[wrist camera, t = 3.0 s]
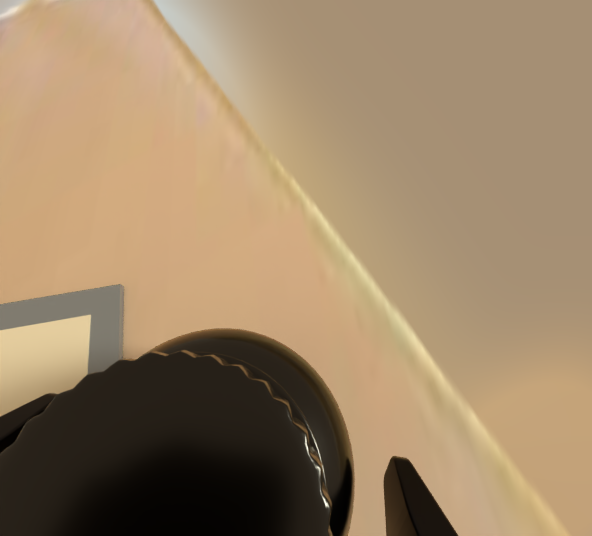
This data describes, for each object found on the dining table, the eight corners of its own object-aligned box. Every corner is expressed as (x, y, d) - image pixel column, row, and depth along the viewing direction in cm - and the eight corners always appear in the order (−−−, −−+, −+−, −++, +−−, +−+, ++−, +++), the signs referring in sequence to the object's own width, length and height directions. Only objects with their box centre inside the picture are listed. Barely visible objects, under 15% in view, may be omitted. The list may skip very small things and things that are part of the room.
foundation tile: (119, 519, 13) (113, 524, 13) (-156, 582, 13) (-172, 589, 12) (124, 286, 17) (119, 283, 17) (-85, 321, 17) (-95, 319, 16)
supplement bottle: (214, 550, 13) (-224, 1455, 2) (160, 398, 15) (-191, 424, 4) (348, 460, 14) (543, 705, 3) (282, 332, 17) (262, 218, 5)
